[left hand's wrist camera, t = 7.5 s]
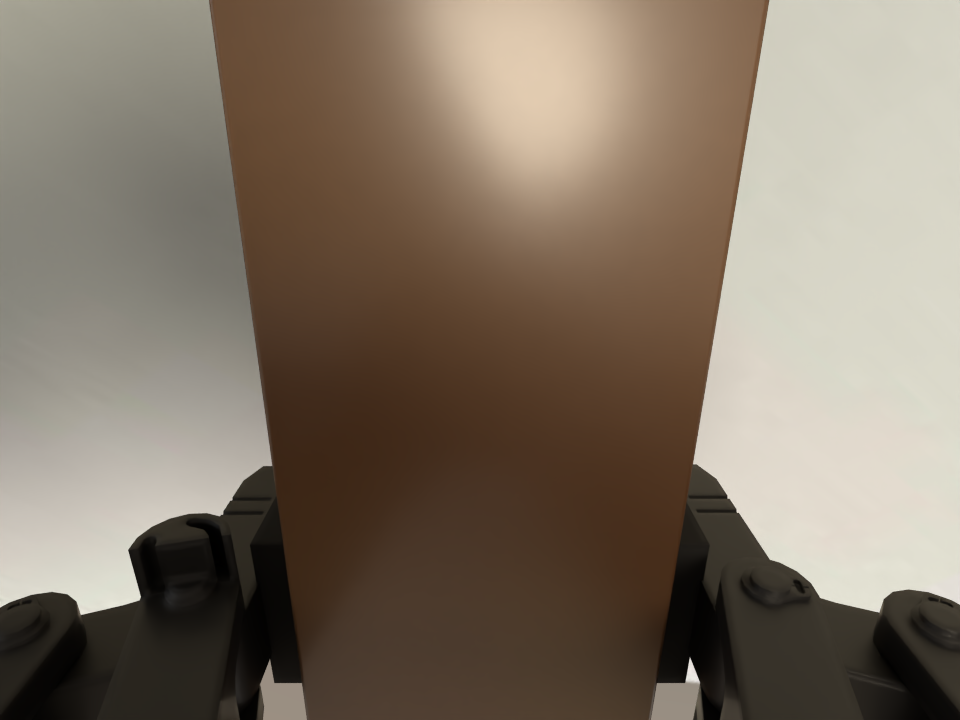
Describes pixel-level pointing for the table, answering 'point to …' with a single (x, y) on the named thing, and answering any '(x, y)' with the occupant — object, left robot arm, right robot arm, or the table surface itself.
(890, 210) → the table surface
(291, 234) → the beam
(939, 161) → the table surface
